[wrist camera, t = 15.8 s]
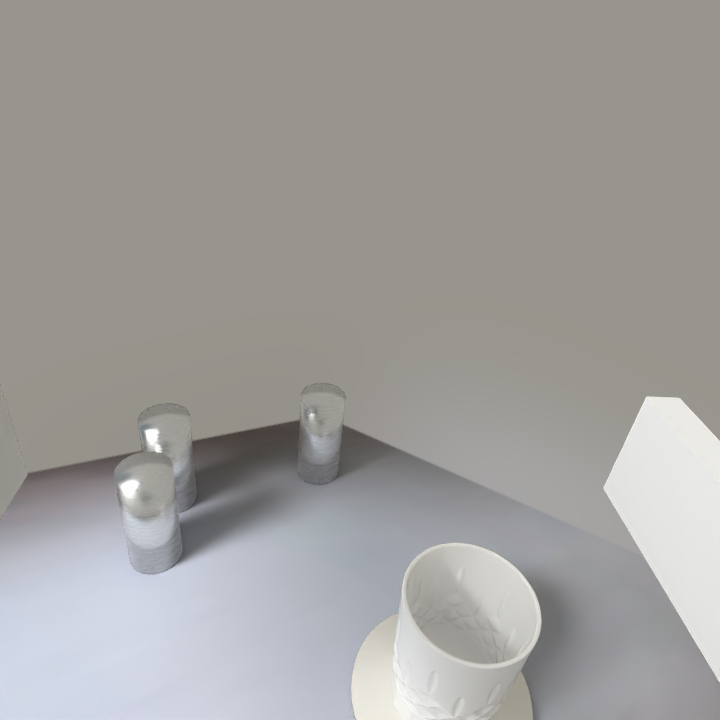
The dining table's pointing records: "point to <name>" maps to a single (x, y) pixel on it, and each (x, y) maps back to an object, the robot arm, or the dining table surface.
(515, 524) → the dining table surface
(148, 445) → the cylinder
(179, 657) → the dining table surface
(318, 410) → the cylinder
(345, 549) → the dining table surface
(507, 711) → the coaster
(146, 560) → the cylinder
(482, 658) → the white cup
